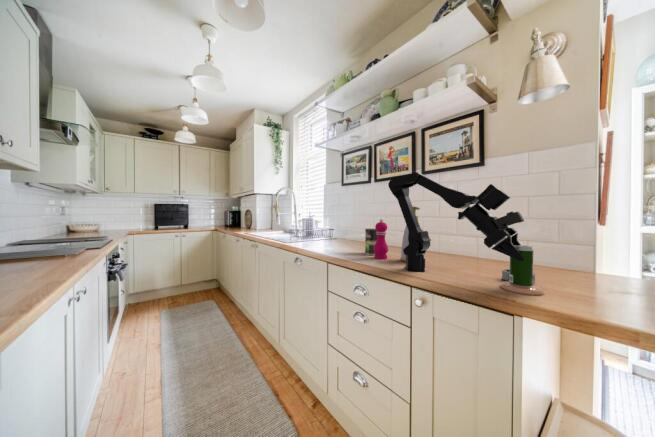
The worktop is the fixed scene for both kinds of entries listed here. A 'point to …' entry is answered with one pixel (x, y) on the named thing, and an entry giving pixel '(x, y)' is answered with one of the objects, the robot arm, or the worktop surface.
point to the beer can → (522, 268)
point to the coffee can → (370, 241)
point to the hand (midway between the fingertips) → (525, 258)
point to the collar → (506, 275)
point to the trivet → (522, 289)
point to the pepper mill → (381, 241)
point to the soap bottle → (406, 238)
